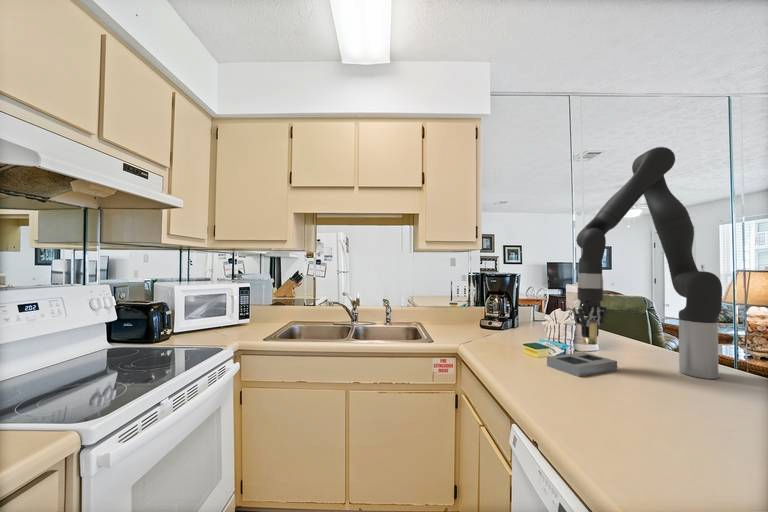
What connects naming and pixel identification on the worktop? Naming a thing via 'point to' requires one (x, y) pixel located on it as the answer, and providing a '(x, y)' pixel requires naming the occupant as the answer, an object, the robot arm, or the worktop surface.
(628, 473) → the worktop surface
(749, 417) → the worktop surface
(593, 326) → the gold and grey cylinder
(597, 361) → the grey fitting block
